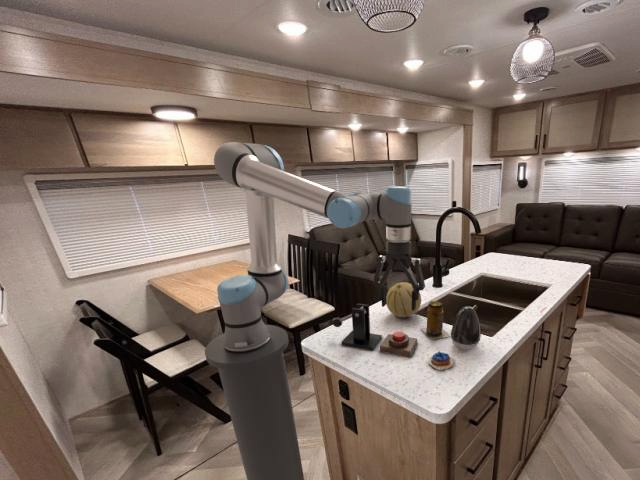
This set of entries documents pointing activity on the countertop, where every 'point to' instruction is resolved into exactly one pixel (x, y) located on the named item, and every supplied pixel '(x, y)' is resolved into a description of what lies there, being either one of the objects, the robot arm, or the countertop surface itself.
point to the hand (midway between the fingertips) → (398, 306)
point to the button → (398, 336)
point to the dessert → (441, 361)
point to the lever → (343, 319)
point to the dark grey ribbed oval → (466, 329)
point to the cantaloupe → (402, 300)
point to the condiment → (435, 321)
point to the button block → (398, 345)
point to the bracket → (361, 330)
